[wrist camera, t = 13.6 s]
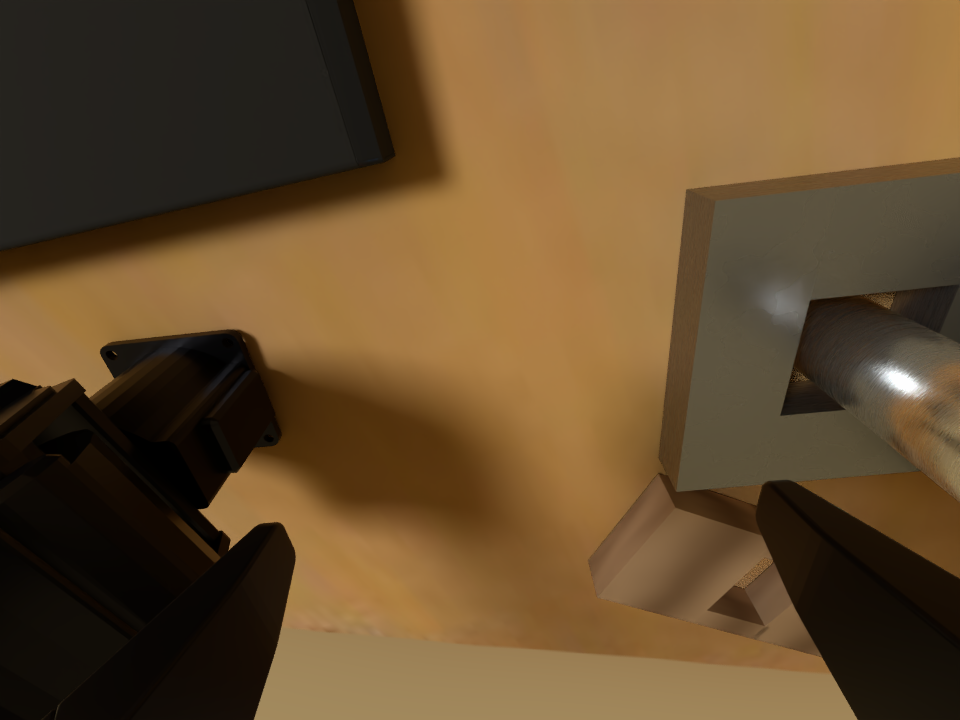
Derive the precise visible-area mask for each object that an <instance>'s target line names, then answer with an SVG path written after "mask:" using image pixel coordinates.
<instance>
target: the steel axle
mask: <svg viewBox="0 0 960 720" xmlns="http://www.w3.org/2000/svg"><path fill="white" fill-rule="evenodd" d="M793 367H794V368H796V369H797V370H798V371H799V372H800V373H802V374H803V375H804V376H805V377H807V378H808V379H809V380H810V381H811V382H813V383H814V384H815V385H816V386H818V387H819V388H820V389H821V390H822V391H824V392H825V393H826V394H827V395H829V396H830V397H831V398H832V399H834V400H835V401H836V402H837V403H838V404H840V405H841V406H842V407H843V408H845V409H846V410H847V411H848V412H849V413H851V414H852V415H853V416H854V417H856V418H857V419H858V420H859V421H860V422H862V423H863V424H864V425H865V426H867V427H868V428H869V429H870V430H871V431H873V432H874V433H875V434H876V435H878V436H879V437H880V438H881V439H882V440H884V441H885V442H886V443H887V444H889V445H890V446H891V447H892V448H894V449H895V450H896V451H897V452H898V453H900V454H901V455H902V456H903V457H905V458H906V459H907V460H908V461H909V462H911V463H912V464H913V465H914V466H916V467H917V468H918V469H919V470H920V471H922V472H923V473H924V474H925V475H927V476H928V477H929V478H930V479H931V480H933V481H934V482H935V483H936V484H938V485H939V486H940V487H941V488H942V489H944V490H945V491H946V492H947V493H949V494H950V495H951V496H952V497H954V498H955V499H956V500H957V501H958V502H960V344H959V343H957V342H955V341H953V340H951V339H949V338H947V337H945V336H943V335H941V334H939V333H937V332H935V331H933V330H931V329H929V328H927V327H925V326H923V325H920V324H918V323H916V322H914V321H912V320H910V319H908V318H906V317H904V316H902V315H900V314H898V313H896V312H894V311H892V310H890V309H888V308H886V307H884V306H882V305H880V304H877V303H875V302H873V301H871V300H869V299H867V298H865V297H863V296H861V295H853V296H843V297H834V298H824V299H815V300H810V302H809V306H808V310H807V314H806V318H805V322H804V326H803V329H802V333H801V337H800V341H799V345H798V349H797V353H796V357H795V360H794V364H793Z"/></svg>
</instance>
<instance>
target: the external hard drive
mask: <svg viewBox="0 0 960 720" xmlns="http://www.w3.org/2000/svg"><path fill="white" fill-rule="evenodd" d="M394 156H396V155H395V153H394V148H393V145H392V141H391V137H390V134H389V130H388V126H387V123H386V119H385V115H384V112H383V108H382V104H381V101H380V97H379V93H378V90H377V86H376V83H375V79H374V75H373V72H372V68H371V64H370V61H369V57H368V53H367V50H366V46H365V42H364V39H363V35H362V31H361V28H360V24H359V21H358V17H357V13H356V10H355V6H354V2H353V0H0V251H4V250H8V249H12V248H17V247H21V246H25V245H30V244H34V243H38V242H43V241H47V240H51V239H55V238H60V237H64V236H68V235H73V234H77V233H81V232H86V231H90V230H94V229H99V228H103V227H107V226H111V225H116V224H120V223H124V222H129V221H133V220H137V219H142V218H146V217H150V216H155V215H159V214H163V213H168V212H172V211H176V210H180V209H185V208H189V207H193V206H198V205H202V204H206V203H211V202H215V201H219V200H224V199H228V198H232V197H236V196H241V195H245V194H249V193H254V192H258V191H262V190H267V189H271V188H275V187H280V186H284V185H288V184H292V183H297V182H301V181H305V180H310V179H314V178H318V177H323V176H327V175H331V174H336V173H340V172H344V171H349V170H353V169H357V168H361V167H366V166H370V165H374V164H379V163H383V162H386V161H387V160H389V159H391V158H392V157H394Z"/></svg>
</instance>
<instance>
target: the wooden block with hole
mask: <svg viewBox="0 0 960 720" xmlns="http://www.w3.org/2000/svg"><path fill="white" fill-rule="evenodd" d="M756 508H757V506H754V505H751V504H748V503H745V502H742V501H739V500H736V499H733V498H730V497H727V496H724V495H721V494H718V493H715V492H712V491H709V490H706V489H704V490H692V491H681V492H676V491H675V489H674V487H673V485H672V483H671V481H670V479H669V477H667V476H664V475H661V474H657V476H656V477H655V478H654V479H653V481H652V482H651V483H650V484H649V486H648V487H647V488H646V489H645V491H644V492H643V493H642V494H641V495H640V497H639V498H638V499H637V500H636V502H635V503H634V504H633V505H632V507H631V508H630V509H629V510H628V512H627V513H626V514H625V515H624V517H623V518H622V519H621V520H620V522H619V523H618V524H617V525H616V527H615V528H614V529H613V530H612V532H611V533H610V534H609V535H608V536H607V538H606V539H605V540H604V541H603V543H602V544H601V545H600V546H599V548H598V549H597V550H596V551H595V553H594V554H593V555H592V556H591V558H590V559H589V560H588V562H589V567H590V571H591V575H592V579H593V583H594V587H595V591H596V595H597V598H600V599H604V600H608V601H612V602H616V603H619V604H623V605H627V606H631V607H634V608H638V609H642V610H646V611H650V612H653V613H657V614H661V615H665V616H668V617H672V618H676V619H680V620H683V621H687V622H691V623H695V624H699V625H702V626H706V627H710V628H714V629H717V630H721V631H725V632H729V633H733V634H736V635H740V636H744V637H748V638H751V639H755V640H759V641H763V642H767V643H770V644H774V645H778V646H782V647H785V648H789V649H793V650H797V651H801V652H804V653H808V654H812V655H816V656H819V657H822V656H821V654H820V653H819V651H818V649H817V647H816V646H815V644H814V642H813V640H812V639H811V637H810V635H809V633H808V632H807V630H806V628H805V626H804V624H803V623H802V621H801V619H800V617H799V615H798V613H797V612H796V610H795V608H794V606H793V604H792V602H791V599H790V597H789V595H788V593H787V591H786V589H785V586H784V584H783V582H782V580H781V577H780V575H779V573H778V571H777V568H776V566H775V564H774V563H773V564H772V565H771V566H770V567H768V568H767V569H766V570H765V571H764V572H763V573H762V574H761V575H760V576H758V577H757V578H756V579H755V580H754V581H753V582H752V583H751V584H750V585H748V586H747V587H746V588H745V589H742V588H739V587H735V586H734V585H735V584H736V583H737V582H738V581H739V580H740V579H741V578H742V577H744V576H745V575H746V574H747V573H748V572H749V571H750V570H751V569H752V568H753V567H754V566H755V565H757V564H758V563H759V562H760V561H761V560H762V559H763V558H766V559H770V560H772V557H771V555H770V553H769V551H768V548H767V546H766V544H765V542H764V539H763V537H762V535H761V533H760V530H759V528H758V526H757V523H756V518H755V513H756Z"/></svg>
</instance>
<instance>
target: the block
mask: <svg viewBox="0 0 960 720" xmlns="http://www.w3.org/2000/svg"><path fill="white" fill-rule="evenodd" d="M891 291H897V292H896V295H895V298H894V301H893V303H892V306H891V309H890V310H892V311H894V312H896V313H898V314H900V315H902V316H904V317H906V318H908V319H910V320H912V321H914V322H916V323H918V324H920V325H923V326H925V327H927V328H929V329H931V330H933V331H935V332H937V333H939V334H941V335H943V336H945V337H947V338H949V339H951V340H953V341H955V342H957V343H959V344H960V158H952V159H943V160H935V161H926V162H917V163H909V164H900V165H892V166H883V167H875V168H866V169H858V170H849V171H841V172H832V173H824V174H815V175H806V176H798V177H789V178H781V179H772V180H764V181H755V182H747V183H738V184H730V185H721V186H712V187H704V188H695V189H687V190H686V200H685V210H684V219H683V229H682V238H681V248H680V258H679V267H678V277H677V286H676V296H675V306H674V315H673V325H672V335H671V344H670V354H669V363H668V373H667V383H666V392H665V402H664V411H663V421H662V431H661V440H660V450H659V460H660V462H661V464H662V465H663V467H664V469H665V471H666V473H667V475H668V477H669V479H670V481H671V483H672V485H673V487H674V489H675V491H676V492H681V491H692V490H704V489H716V488H727V487H739V486H751V485H762V484H764V483H765V482H767V481H773V480H791V481H793V482H798V481H809V480H821V479H833V478H844V477H856V476H868V475H879V474H891V473H903V472H914V471H920V470H919V469H918V468H917V467H916V466H914V465H913V464H912V463H911V462H909V461H908V460H907V459H906V458H905V457H903V456H902V455H901V454H900V453H898V452H897V451H896V450H895V449H894V448H892V447H891V446H890V445H889V444H887V443H886V442H885V441H884V440H882V439H881V438H880V437H879V436H878V435H876V434H875V433H874V432H873V431H871V430H870V429H869V428H868V427H867V426H865V425H864V424H863V423H862V422H860V421H859V420H858V419H857V418H856V417H854V416H853V415H852V414H851V413H849V412H848V411H847V410H846V409H845V408H843V407H842V406H841V405H840V404H838V403H837V402H836V401H835V400H834V399H832V398H831V397H830V396H829V395H827V394H826V393H825V392H824V391H822V390H821V389H820V388H819V387H818V386H816V385H815V384H814V383H813V382H811V381H810V380H809V381H798V382H789V380H790V376H791V372H792V368H793V364H794V360H795V357H796V353H797V349H798V345H799V341H800V337H801V333H802V329H803V326H804V322H805V318H806V314H807V310H808V306H809V302H810V300H815V299H824V298H834V297H843V296H853V295H863V294H872V293H882V292H891Z"/></svg>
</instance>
